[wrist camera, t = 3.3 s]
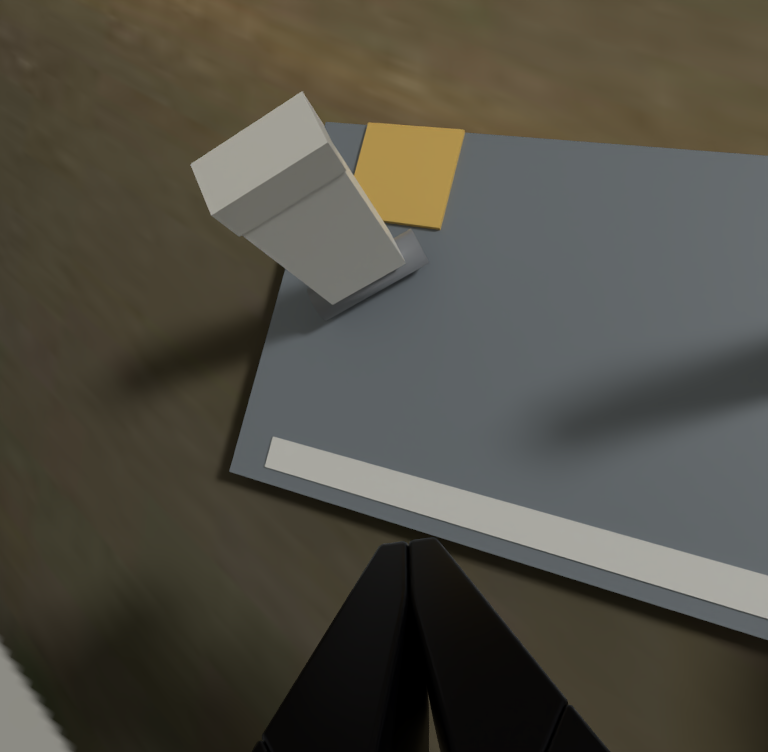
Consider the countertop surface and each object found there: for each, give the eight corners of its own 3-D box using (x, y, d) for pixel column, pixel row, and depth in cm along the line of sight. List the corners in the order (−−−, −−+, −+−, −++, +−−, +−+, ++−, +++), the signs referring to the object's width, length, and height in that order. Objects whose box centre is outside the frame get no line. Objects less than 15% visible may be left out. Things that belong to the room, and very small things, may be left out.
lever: (432, 269, 20) (353, 126, 12) (331, 325, 21) (188, 230, 12) (415, 236, 21) (327, 75, 12) (317, 293, 21) (167, 179, 13)
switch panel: (1009, 707, 15) (1054, 731, 14) (244, 471, 23) (226, 471, 21) (1083, 202, 16) (1131, 179, 15) (336, 138, 24) (324, 119, 23)
